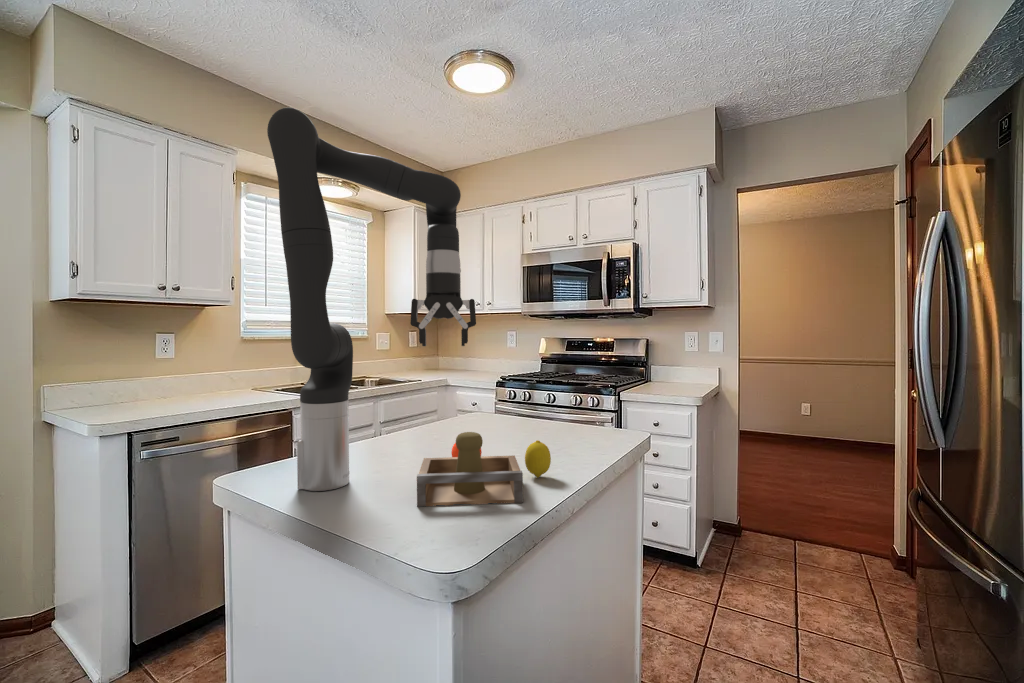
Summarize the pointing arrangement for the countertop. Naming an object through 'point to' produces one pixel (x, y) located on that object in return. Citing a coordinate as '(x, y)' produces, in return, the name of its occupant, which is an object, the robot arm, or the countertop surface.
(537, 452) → the lemon
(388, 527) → the countertop surface
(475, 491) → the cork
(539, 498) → the countertop surface
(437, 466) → the box
